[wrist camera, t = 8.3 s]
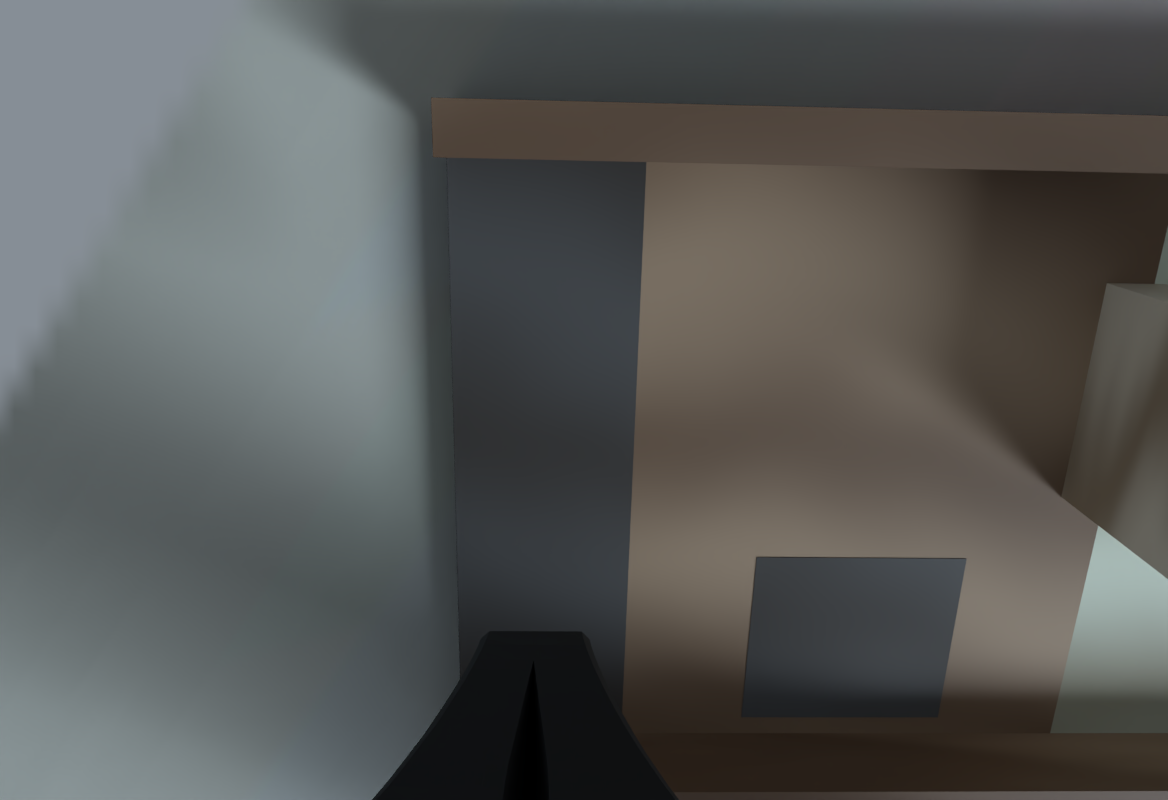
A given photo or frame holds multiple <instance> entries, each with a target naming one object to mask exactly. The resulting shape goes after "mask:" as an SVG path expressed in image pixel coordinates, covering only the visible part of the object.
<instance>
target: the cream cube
mask: <svg viewBox="0 0 1168 800" xmlns="http://www.w3.org/2000/svg"><path fill="white" fill-rule="evenodd" d="M1061 497H1062V498H1063V499H1064V500H1066V501H1067V502H1068V503H1070V504H1071V505H1072V506H1073V507H1075V508H1076V509H1077V510H1079V511H1080V512H1081V513H1083V514H1084V515H1085V516H1086V517H1088V518H1089V519H1090V520H1092V521H1093V522H1094V523H1096V524H1097V525H1098V526H1099V527H1101V528H1102V529H1103V530H1105V531H1106V532H1107V533H1108V534H1110V535H1111V536H1112V537H1114V538H1115V539H1116V540H1118V541H1119V542H1120V543H1121V544H1123V545H1124V546H1125V547H1127V548H1128V549H1129V550H1131V551H1132V552H1133V553H1134V554H1136V555H1137V556H1138V557H1140V558H1141V559H1142V560H1144V561H1145V562H1146V563H1147V564H1149V565H1150V566H1151V567H1153V568H1154V569H1155V570H1156V571H1158V572H1159V573H1160V574H1162V575H1163V576H1164V577H1166V578H1167V579H1168V284H1126V283H1107V285H1106V290H1105V294H1104V299H1103V304H1102V308H1101V313H1100V318H1099V322H1098V327H1097V332H1096V336H1095V341H1094V346H1093V351H1092V355H1091V360H1090V365H1089V369H1088V374H1087V379H1086V383H1085V388H1084V393H1083V398H1082V402H1081V407H1080V412H1079V416H1078V421H1077V426H1076V430H1075V435H1074V440H1073V444H1072V449H1071V454H1070V459H1069V463H1068V468H1067V473H1066V477H1065V482H1064V487H1063V491H1062V496H1061Z"/></svg>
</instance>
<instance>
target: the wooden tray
mask: <svg viewBox="0 0 1168 800" xmlns="http://www.w3.org/2000/svg"><path fill="white" fill-rule="evenodd" d="M431 109H432V142H433V157H443V158H447V186H448V225H449V263H450V302H451V341H452V379H453V418H454V457H455V495H456V534H457V573H458V611H459V650H460V679H461V677H462V675H463V674H464V672H465V670H466V668H467V667H468V665H469V663H470V661H471V659H472V657H473V655H474V653H475V651H476V649H477V647H478V644H479V642H480V640H481V638H482V637H483V636H484V635H486V634H487V633H488V632H489V631H582V632H583V633H584V634H585V635H586V636H587V637H588V638H589V639H590V643H591V646H592V649H593V652H594V655H595V658H596V660H597V663H598V665H599V668H600V670H601V672H602V675H603V677H604V679H605V681H606V683H607V685H608V687H609V689H610V691H611V693H612V695H613V697H614V699H615V701H616V703H617V705H618V707H619V708H620V710H621V712H622V714H623V715H624V717H625V719H626V720H627V722H628V724H629V726H630V727H631V729H632V731H633V733H634V734H635V736H636V738H637V739H638V741H639V742H640V744H641V746H642V747H643V749H644V750H645V752H646V754H647V755H648V757H649V758H650V760H651V761H652V763H653V764H654V765H655V767H656V768H657V770H658V771H659V773H660V774H661V776H662V777H663V779H664V780H665V781H666V783H667V784H668V786H669V787H670V788H671V790H672V791H673V792H674V794H675V795H676V797H677V798H678V799H679V800H1168V579H1167V578H1166V577H1164V576H1163V575H1162V574H1160V573H1159V572H1158V571H1156V570H1155V569H1154V568H1153V567H1151V566H1150V565H1149V564H1147V563H1146V562H1145V561H1144V560H1142V559H1141V558H1140V557H1138V556H1137V555H1136V554H1134V553H1133V552H1132V551H1131V550H1129V549H1128V548H1127V547H1125V546H1124V545H1123V544H1121V543H1120V542H1119V541H1118V540H1116V539H1115V538H1114V537H1112V536H1111V535H1110V534H1108V533H1107V532H1106V531H1105V530H1103V529H1102V528H1101V527H1099V526H1098V525H1097V524H1096V523H1094V522H1093V521H1092V520H1090V519H1089V518H1088V517H1086V516H1085V515H1084V514H1083V513H1081V512H1080V511H1079V510H1077V509H1076V508H1075V507H1073V506H1072V505H1071V504H1070V503H1068V502H1067V501H1066V500H1064V499H1063V498H1062V497H1061V496H1062V491H1063V487H1064V482H1065V477H1066V473H1067V468H1068V463H1069V459H1070V454H1071V449H1072V444H1073V440H1074V435H1075V430H1076V426H1077V421H1078V416H1079V412H1080V407H1081V402H1082V398H1083V393H1084V388H1085V383H1086V379H1087V374H1088V369H1089V365H1090V360H1091V355H1092V351H1093V346H1094V341H1095V336H1096V332H1097V327H1098V322H1099V318H1100V313H1101V308H1102V304H1103V299H1104V294H1105V290H1106V285H1107V283H1126V284H1168V116H1157V115H1116V114H1075V113H1035V112H994V111H953V110H913V109H872V108H832V107H791V106H750V105H710V104H669V103H628V102H588V101H547V100H506V99H466V98H431Z"/></svg>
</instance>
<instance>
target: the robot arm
mask: <svg viewBox="0 0 1168 800" xmlns="http://www.w3.org/2000/svg"><path fill="white" fill-rule="evenodd" d="M372 800H679V799H678V798H677V797H676V795H675V794H674V792H673V791H672V790H671V788H670V787H669V786H668V784H667V783H666V781H665V780H664V779H663V777H662V776H661V774H660V773H659V771H658V770H657V768H656V767H655V765H654V764H653V763H652V761H651V760H650V758H649V757H648V755H647V754H646V752H645V750H644V749H643V747H642V746H641V744H640V742H639V741H638V739H637V738H636V736H635V734H634V733H633V731H632V729H631V727H630V726H629V724H628V722H627V720H626V719H625V717H624V715H623V714H622V712H621V710H620V708H619V707H618V705H617V703H616V701H615V699H614V697H613V695H612V693H611V691H610V689H609V687H608V685H607V683H606V681H605V679H604V677H603V675H602V672H601V670H600V668H599V665H598V663H597V660H596V658H595V655H594V652H593V649H592V646H591V643H590V639H589V638H588V637H587V636H586V635H585V634H584V633H583V632H582V631H489V632H488V633H487V634H486V635H484V636H483V637H482V638H481V640H480V642H479V644H478V647H477V649H476V651H475V653H474V655H473V657H472V659H471V661H470V663H469V665H468V667H467V668H466V670H465V672H464V674H463V675H462V677H461V679H460V680H459V682H458V684H457V685H456V687H455V689H454V690H453V692H452V694H451V695H450V697H449V698H448V700H447V701H446V703H445V704H444V706H443V707H442V709H441V710H440V712H439V713H438V715H437V716H436V718H435V719H434V721H433V722H432V724H431V725H430V727H429V728H428V730H427V731H426V733H425V734H424V735H423V737H422V738H421V739H420V741H419V742H418V743H417V745H416V746H415V747H414V748H413V750H412V751H411V752H410V754H409V755H408V756H407V758H406V759H405V760H404V761H403V763H402V764H401V765H400V767H399V768H398V769H397V770H396V772H395V773H394V774H393V776H392V777H391V778H390V779H389V781H388V782H387V783H386V784H385V785H384V787H383V788H382V789H381V790H380V791H379V792H378V794H377V795H376V796H375V797H374V798H373V799H372Z"/></svg>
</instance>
